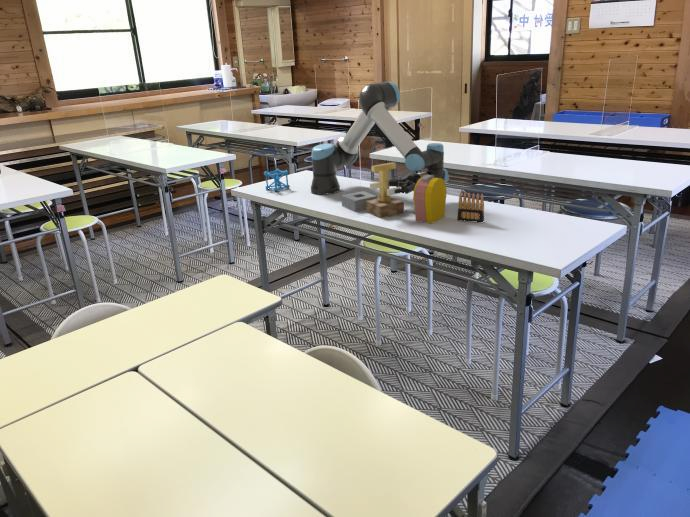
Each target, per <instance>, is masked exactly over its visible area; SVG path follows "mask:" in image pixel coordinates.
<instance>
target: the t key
mask: <svg viewBox="0 0 690 517" xmlns="http://www.w3.org/2000/svg"><path fill="white" fill-rule="evenodd" d="M396 164H397V163H396V162H387V163H381V164H375V165H371V173H372V172H373V173H378V182H379V188H378V189H379V190H378V194H379V198H380V202H381V203H387V202H390V197H391V195H390V196H387V189H390V186H389V179H390V170H391V171H392V170H394V169H395V170H396V169H397V165H396Z"/></svg>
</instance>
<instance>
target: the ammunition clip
mask: <svg viewBox="0 0 690 517" xmlns="http://www.w3.org/2000/svg"><path fill="white" fill-rule="evenodd" d="M458 195H459V196H458V205H457V206H458V208H457V218H456V220H457V221H459V220H462V221H461V222H469V221H477V222H476V223H479V222H483V221H484V222H485V201H484V200H485V199H484V194H483V193H481V195H480V194H479V192H478V193H477V194H476V195H475V193H474V192H473V193H472V195H471V193H470V192H469V191H468V193H466V192H463V193H462V191H460V192H459V194H458ZM464 220H465V221H464ZM484 222H483V223H484Z"/></svg>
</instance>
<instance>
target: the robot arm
mask: <svg viewBox="0 0 690 517" xmlns="http://www.w3.org/2000/svg"><path fill="white" fill-rule="evenodd" d="M400 93H401V92H400V89H399V87H398V85H397V84H396V83H394V82H392V81H382V82H376V83H369V84H366V85H364V86H363V87H362V89H361V90H360V91H359V95H358V103H359V106H360V108H361V112H360V113H359V115H358V116H357V117H356V119H355V121H354V122H353V124H352V125H351V127H350V128H349V130H348V131H347V132H346V133H345V135H344V136H341V137H340V138H338V140H337V142H336V143H335V144H333V143H319V144H317V145H315V146H314V147H312V149H311V156H310V157H311V164H312V181H311V185H310V193H312V192H313V193H312V194H314V193H319V194H318V195H328V194H327V193H332V194H335V193H334V192H336V193H338V192H340V191H339V190H341V185H340V183H339V181H338V178H337V174H336V173H337V172H336V169H337V168H341V167H344V166H350V165H352V164H353V163H355V162H356V161H357V159H358V157H359V151H360V150H359V146H360V145H361V143H362V142H363V141H364V139H365V137H366V136H367V135H368V134H369V132H370V131H371V129H372V128H373V126H374V125H375V124H376V125H377V127H378V128H379V129H380V130H381V132H382V133H383V134H384V135H385V137H386V138H387V139H388V140H389V141H390V142H391V143H392V145H393V146H394V147H395V149H397V151H398V152H399V154H401V156H402V157H403V158H404V159H405V160H404V165H405V168H406V169H407V170H408V171H410V174H409V175H408V176H407V177H406V178H401V177H398V178H389V187H392V188H389V189H387V196H390V197H391V196H394V195H399V194H406V195H407V194H409V193H412V192H414V189H415V185H416V183H417V181H418V180H419V179H420V178H421V177H423V176H424V175H433V176H434V178H442V179H443V180H444V181H445V184H447V183H448V182H449V180H450V174H449V172H448V170H447V169H446V168H444V162H445V161H444V159H445V152H444V151H445V149H444V144H442V143H439V142H432V143H428V144H427V145H426V149H425V150H424V151H422V150H421V149H420V148H419V147H418V145H417V144H416V142H414V141H413V139H412V138H411V137H410V135H409V134H408V133H407V132H406V130H404V128H403V127H402V126H401V125H400V124H399V123H398V121H397V120H396V119H395V118H394V117H393V115H392V114H391V113H390V112H389V110H390V109H391V108H394V107H396V106H398V104H399V103H400V101H401V94H400ZM425 169H426V171H422V170H425ZM419 171H422V172H419ZM411 172H413V173H411ZM414 172H416V173H414ZM376 189H379V181H376V182H369V190H376ZM337 191H338V192H337Z"/></svg>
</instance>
